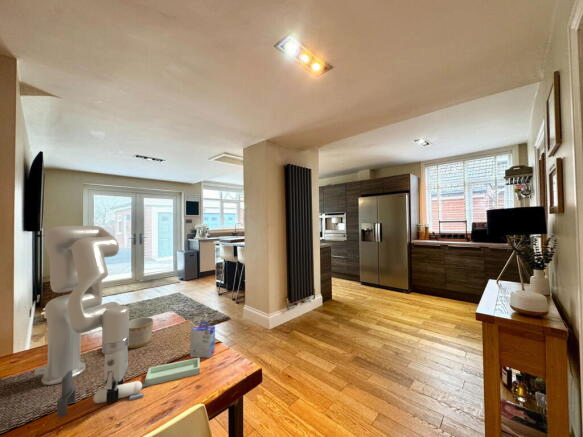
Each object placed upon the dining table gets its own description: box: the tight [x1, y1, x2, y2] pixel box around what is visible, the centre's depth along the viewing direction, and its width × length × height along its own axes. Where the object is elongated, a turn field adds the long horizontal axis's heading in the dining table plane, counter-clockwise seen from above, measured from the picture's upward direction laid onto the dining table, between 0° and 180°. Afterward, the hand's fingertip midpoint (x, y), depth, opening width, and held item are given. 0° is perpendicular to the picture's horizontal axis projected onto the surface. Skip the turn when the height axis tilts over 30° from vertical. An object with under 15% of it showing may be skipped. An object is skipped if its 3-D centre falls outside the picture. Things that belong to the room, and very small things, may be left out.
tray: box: [144, 357, 201, 387], centre depth 93 cm, size 19×8×2 cm, turn 112°
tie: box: [56, 370, 77, 419], centre depth 76 cm, size 2×7×11 cm, turn 22°
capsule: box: [92, 380, 143, 404], centre depth 81 cm, size 14×4×4 cm, turn 112°
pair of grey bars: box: [129, 382, 148, 401], centre depth 83 cm, size 4×7×1 cm, turn 22°
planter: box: [127, 317, 154, 349], centre depth 117 cm, size 13×13×10 cm
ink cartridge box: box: [189, 320, 216, 359], centre depth 107 cm, size 10×6×14 cm, turn 84°
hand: (115, 395), depth 80 cm, fingers open, 4 cm apart
